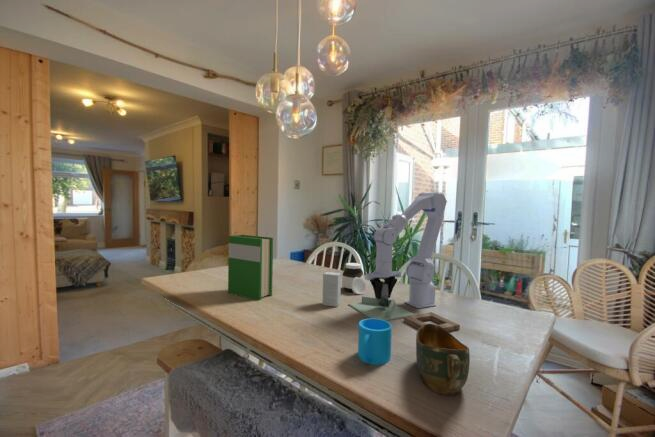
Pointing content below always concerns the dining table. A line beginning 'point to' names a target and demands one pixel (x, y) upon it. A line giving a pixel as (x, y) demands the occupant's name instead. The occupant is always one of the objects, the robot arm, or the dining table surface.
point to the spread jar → (353, 278)
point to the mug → (374, 341)
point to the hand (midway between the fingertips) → (382, 297)
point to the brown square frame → (444, 323)
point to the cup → (441, 360)
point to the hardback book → (250, 266)
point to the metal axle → (384, 295)
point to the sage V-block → (380, 309)
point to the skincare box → (331, 289)
